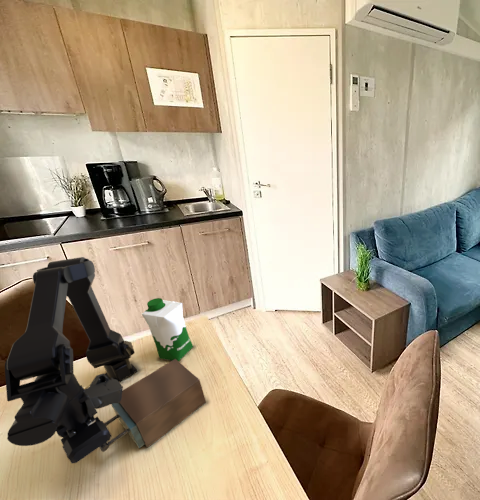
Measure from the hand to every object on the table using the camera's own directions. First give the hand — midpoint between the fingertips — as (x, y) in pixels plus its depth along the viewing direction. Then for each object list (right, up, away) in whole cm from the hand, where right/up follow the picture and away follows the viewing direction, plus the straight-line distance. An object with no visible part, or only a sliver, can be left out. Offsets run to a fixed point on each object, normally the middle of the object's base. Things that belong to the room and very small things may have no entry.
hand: (90, 446), depth 62 cm
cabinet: (+8, 0, +13) cm, 16 cm away
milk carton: (-1, +9, +32) cm, 33 cm away
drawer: (+6, 0, +10) cm, 11 cm away
